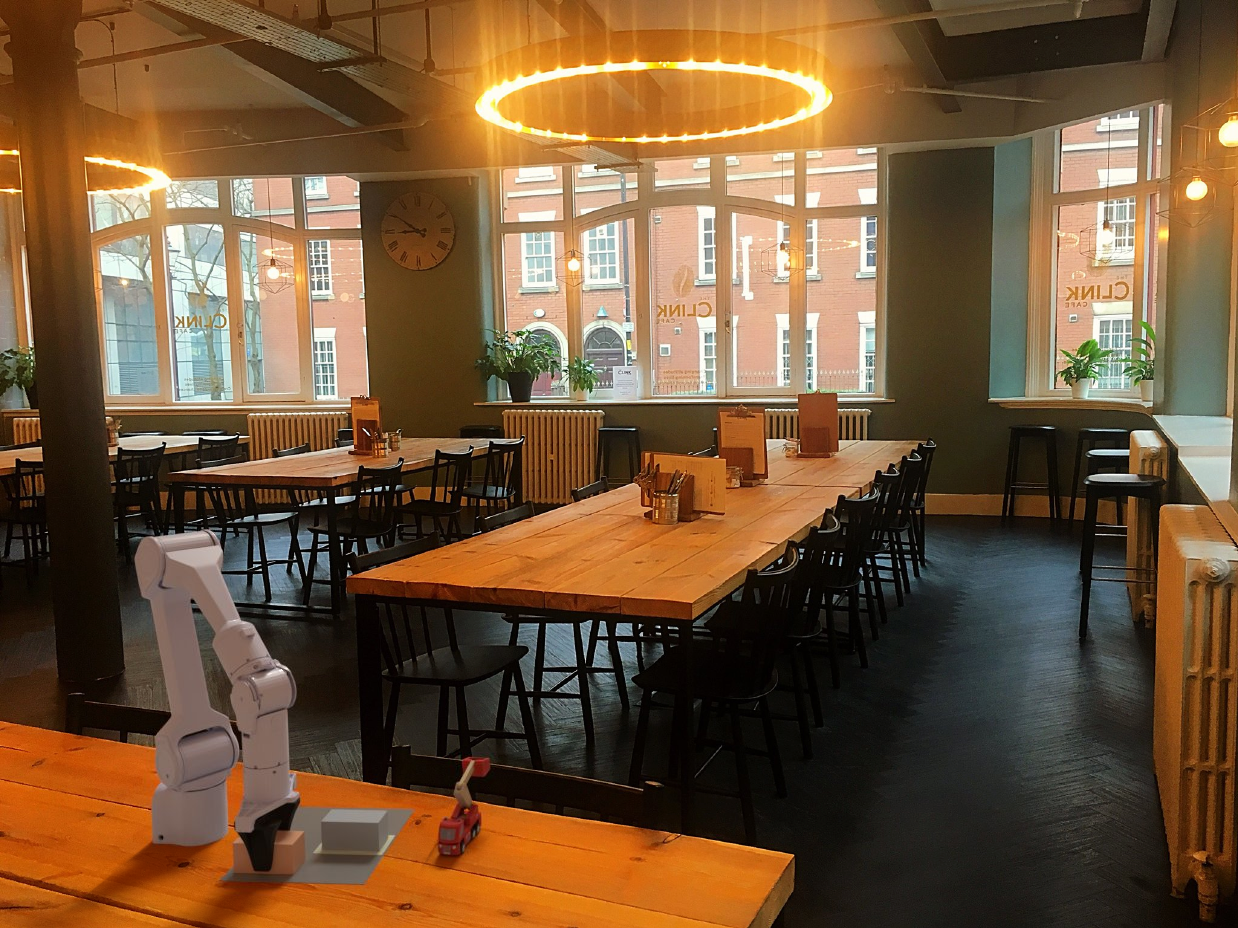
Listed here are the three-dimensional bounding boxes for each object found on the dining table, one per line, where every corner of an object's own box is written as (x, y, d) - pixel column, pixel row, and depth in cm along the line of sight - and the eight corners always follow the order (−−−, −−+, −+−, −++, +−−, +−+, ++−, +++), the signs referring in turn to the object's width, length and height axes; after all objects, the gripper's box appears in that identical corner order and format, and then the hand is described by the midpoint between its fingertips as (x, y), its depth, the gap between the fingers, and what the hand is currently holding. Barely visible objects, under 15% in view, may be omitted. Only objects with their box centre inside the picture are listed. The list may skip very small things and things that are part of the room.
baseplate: (219, 889, 129) (219, 880, 129) (291, 814, 152) (291, 806, 152) (364, 893, 127) (364, 883, 127) (414, 817, 150) (414, 808, 150)
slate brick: (321, 850, 137) (320, 821, 137) (332, 837, 141) (331, 809, 141) (379, 851, 136) (378, 822, 136) (388, 838, 140) (387, 810, 140)
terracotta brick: (233, 872, 131) (232, 843, 130) (247, 858, 135) (246, 829, 134) (293, 874, 130) (292, 844, 130) (305, 860, 134) (304, 831, 134)
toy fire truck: (435, 857, 137) (433, 788, 136) (470, 815, 151) (469, 752, 150) (458, 859, 136) (457, 790, 136) (491, 817, 150) (490, 754, 149)
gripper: (272, 783, 124) (276, 890, 125) (316, 742, 138) (320, 838, 139) (217, 782, 124) (221, 888, 125) (267, 741, 139) (270, 837, 140)
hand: (269, 862), depth 132 cm, fingers closed on terracotta brick, 4 cm apart
